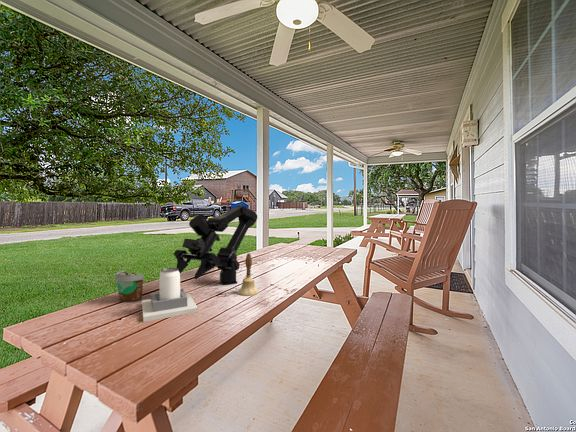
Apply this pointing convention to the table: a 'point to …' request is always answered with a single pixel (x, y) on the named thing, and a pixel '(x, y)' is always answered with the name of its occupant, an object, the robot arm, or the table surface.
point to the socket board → (167, 306)
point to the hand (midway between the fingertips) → (185, 277)
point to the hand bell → (248, 280)
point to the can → (169, 283)
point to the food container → (129, 286)
